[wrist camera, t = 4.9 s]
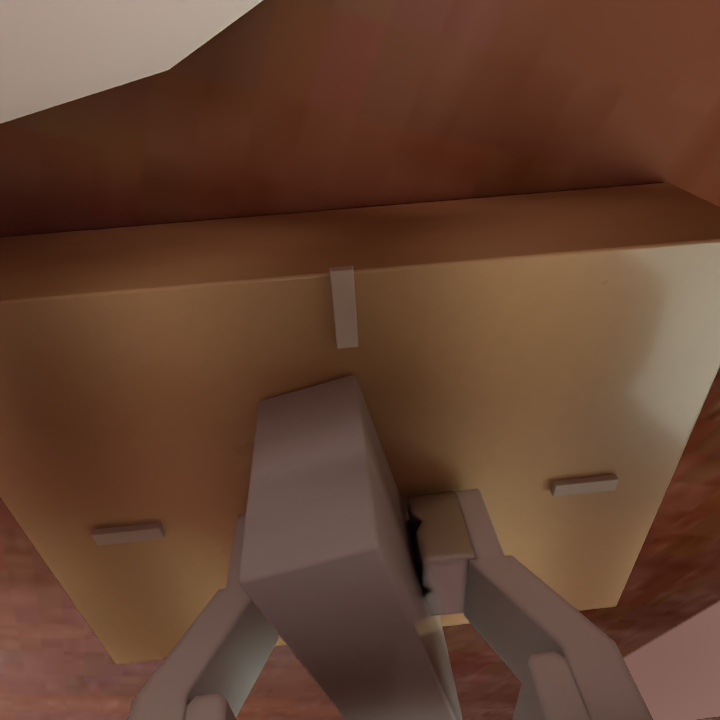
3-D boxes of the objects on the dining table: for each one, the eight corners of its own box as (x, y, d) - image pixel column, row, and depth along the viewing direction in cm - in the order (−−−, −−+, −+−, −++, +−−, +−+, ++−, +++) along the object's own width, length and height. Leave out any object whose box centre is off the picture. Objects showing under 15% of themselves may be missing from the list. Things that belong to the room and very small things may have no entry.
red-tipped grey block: (257, 400, 9) (233, 601, 6) (354, 372, 9) (381, 565, 6) (364, 600, 13) (382, 783, 10) (432, 583, 13) (473, 765, 10)
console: (145, 568, 16) (115, 673, 14) (-25, 233, 10) (-142, 312, 7) (570, 521, 17) (618, 614, 14) (670, 176, 10) (789, 232, 8)
